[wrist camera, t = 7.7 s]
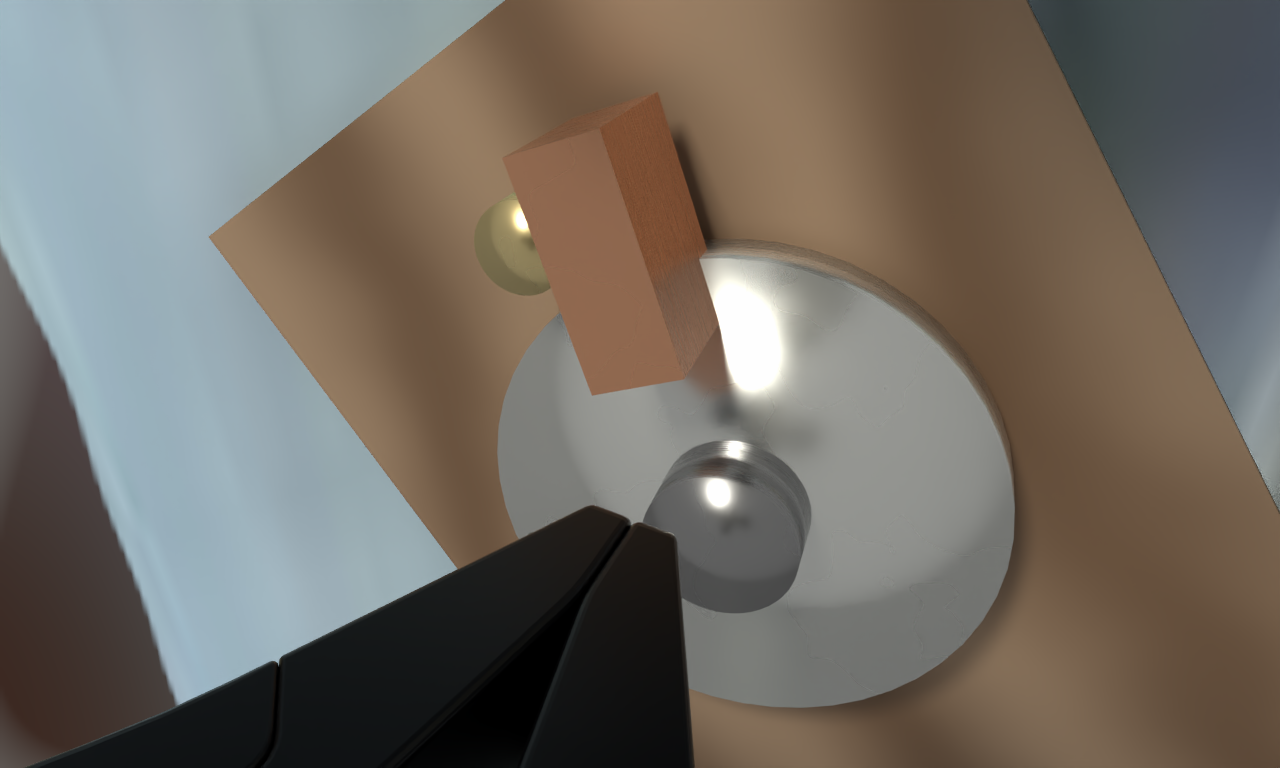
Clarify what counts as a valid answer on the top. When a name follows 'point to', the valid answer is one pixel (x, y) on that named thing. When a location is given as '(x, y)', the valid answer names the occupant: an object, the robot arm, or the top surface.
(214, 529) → the top surface
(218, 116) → the top surface
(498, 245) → the brass dowel
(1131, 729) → the base board
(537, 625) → the robot arm
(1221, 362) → the top surface
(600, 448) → the flange plate
